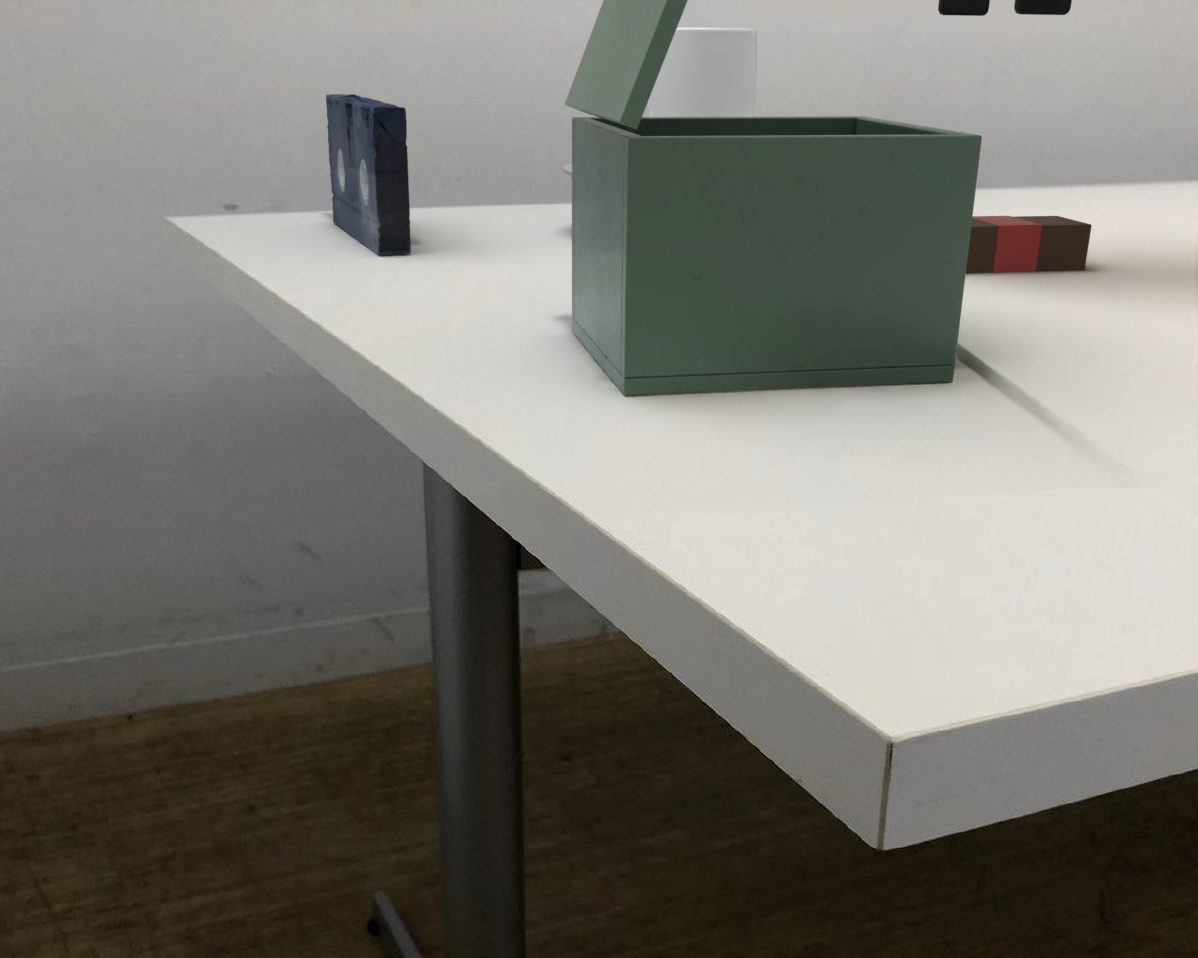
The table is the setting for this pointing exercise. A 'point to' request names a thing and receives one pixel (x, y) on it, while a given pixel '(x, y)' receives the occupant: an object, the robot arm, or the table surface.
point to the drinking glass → (707, 74)
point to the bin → (769, 251)
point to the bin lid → (624, 58)
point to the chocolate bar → (1027, 244)
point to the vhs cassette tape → (369, 171)
